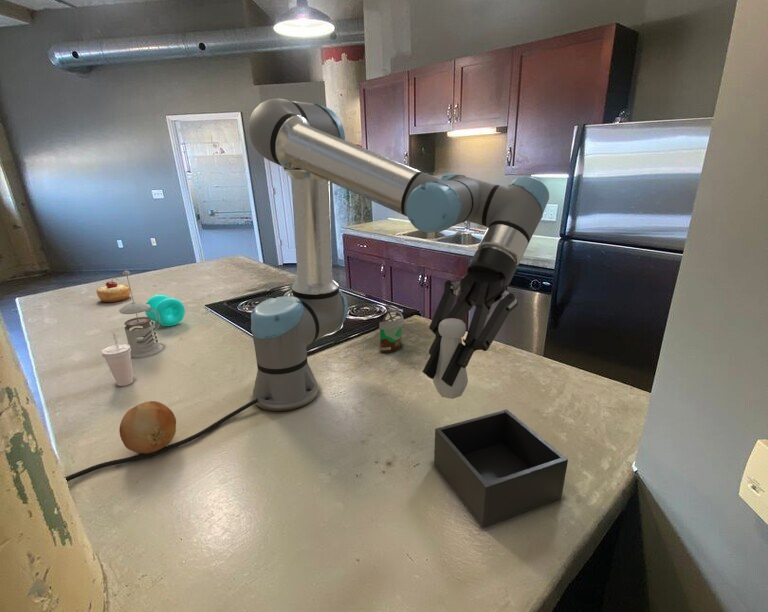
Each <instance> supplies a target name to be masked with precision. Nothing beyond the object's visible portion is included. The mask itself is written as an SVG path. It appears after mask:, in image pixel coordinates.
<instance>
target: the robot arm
mask: <svg viewBox="0 0 768 612" xmlns="http://www.w3.org/2000/svg"><path fill="white" fill-rule="evenodd" d="M248 136H249V138H250V142H251V144H252V147H253V148H254V150H256V152H257V153H258V154H259V155H260V156H261V157H263V158H264V159H266V160H268V161H270V162H272V163H274V164H275V165H279V166H281V167H282V169H283V171H284V172H285V174H286V175H288V177H289V178H290V183H291V198H292V199H291V200H292V212H293V228H294V245H295V259H296V274H297V275H296V276H297V280H296V281H295V282H294V283H293V284H292V285H291V290H292V291H291V293H292V294H291V295H292V296H290V295H282V296H277V297H275V298H274V297H271V298H268V299H266V300H263V301H261V302H260V303H258V304H256V306H254V307H253V309H252V311H251V313H250V321H251V323H250V324H251V325H250V330H251V333H252V340H253V346H254V353H255V358H256V367H257V372H256V377H255V381H254V384H253V385H254V386H253V389H252V390H253V391H252V397H253V400H251V401H249V402H248V403H245V404H244V405H242V406H241V407H239V408H237V409H235V410H234V411H231V412H230V413H229V414H227V415H225V416H223V417H221V418H220V419H218V420H217V421H215V422H213V423H212V424H211V425H209V426H207V427H206V428H203V429H202V430H201V431H199V432H197V433H194V434H192V435H190V436H188V437H186V438H183V439H182V440H179V441H176V442H174V443H171V444H168V445H166V446H165V447H164V448H162V449H160V450H158V451H156V452H153V453H147V454H141V453H138V454H136V455H132V456H128V457H123V458H119V459H118V458H117V459H113V460H109V461H104V462H101V463H98V464H95V465H91V466H89V467H87V468H84V469H82V470H79V471H77V472H74V473H71V474H69V475H67V476H65V477H64V478H66V480H67V482H66V483H69V482H70V481H72V480H75V479H77V478H80V477H82V476H84V475H87V474H90V473H92V472H94V471H95V472H96V471H97V470H101V469H104V468H108V467H111V466H117V465H122V464H127V463H130V462H134V461H138V460H142V459H145V458H149V457H152V456H154V455H158V454H161V453H164V452H168V451H170V450H173V449H176V448H178V447H181V446H183V445H186V444H188V443H190V442H192V441H194V440H196V439H198V438H200V437H202V436H203V435H206V434H207V433H209V432H210V431H212V430H214V429H215V428H217V427H219V426H221V424H223V423H224V422H226V421H228V420H230V419H231V418H233V417H235V416H237V415H238V414H241V412H244V411H245V410H247V409H249V408H251V407H252V406H254V405H256V406H257V407H258V408H260V409H262V410H265V411H271V412H287V411H288V412H289V411H293V410H296V409H299V408H302V407H305V406H306V405H309V403H311V402H312V401H314V399H316V398H317V396H318V393H319V389H318V382H317V379H316V377H315V375H314V373H313V371H312V368H311V367H310V364H309V360H308V351H307V347H309V345H311V344H313V343H315V342H316V341H318V340H320V339H322V338H323V337H326V336H327V335H330V334H332V333H334V332H335V331H336V330H338V329H339V328H340V327H341V326H342V325H343V324H344V323H345V321H346V319H347V317H348V314H349V313H348V312H349V304H348V300H347V297H346V296H344V292H342V291H341V289H340V285H339V283H338V282H337V281H335V280H334V278H333V252H332V251H333V250H332V225H331V224H332V221H331V218H332V217H331V188H330V187H331V186H330V185H331V184H330V183H332V184H334V185H336V186H338V187H340V188H343V189H345V190H347V191H349V192H351V193H354V194H356V195H358V196H361V197H363V198H365V199H367V200H369V201H371V202H373V203H376V204H377V205H380V206H382V207H384V208H387V209H389V210H392V211H394V212H396V213H398V214H400V215H403V216H405V217H407V219H408V221H409V222H410V223H411V225H412V226H413V227H414V228H415V229H416V230H418V231H419V232H423V233H426V234H427V233H428V234H431V233H440V232H444V231H447V230H448V229H450V228H452V227H454V226H457V225H460V224H462V223H465V222H469V223H473V224H477V225H480V226H483V227H486V228H487V229H486V231H485V233H484V235H483V236H482V237H481V240H480V242H479V244H478V246H477V250H476V251H475V252H474V254H473V256H472V258H471V260H470V262H469V263H468V266H467V271H466V273H465V275H463V276H462V277H461V278H460V280H458V281H453V282H452V281H451V280H450V279H449V280H446V281H445V282H444V286H443V287H444V289H443V294H442V296H441V299H440V300H439V303H438V305H437V307H436V310H435V312H434V314H433V317H432V319H431V322H430V324H429V326H428V328H429V330H430V332H432V333H433V335H435V337H434V340H433V341H432V343H431V346H430V348H429V349H428V354H429V355H430V356H429V358H428V359H427V362H426V363H425V365H424V368H423V369H422V373H423V374H424V375H426V377H428V379H431V380H433V378H434V376H435V374H436V370H437V364H438V358H439V352H440V343H441V339H442V336H441V335H440V334H439V324H440V322H441V321H442V320H444V319H449V318H455V319H460V320H462V321H463V319H464V317H465V316H466V314H467V313H468V312H470V311H471V310H472V309H473V307H475V309H474V311H473V315H472V318H471V321H470V324H469V326H468V329H467V332H466V333H467V334H466V336H465V339H464V338H463V339H462V344H461V343H459V344H458V346H457V348H456V350H455V352H454V354H453V356H452V358H451V360H450V362H449V364H448V366H447V368H446V370H445V372H444V374H443V376H442V378H441V380H443V381H444V382H445V383H446V384H447V385H448V386H451V387H452V385H453V383H454V381H455V379H456V377H457V375H458V373H459V371H460V369H461V367H462V368H466V369H467V367H468V365H469V363H470V360H471V358H472V357H473V354H474V352H476V351H482V352H486V351H488V350H489V349H490V347H491V345H492V344H493V342H494V341H495V338H496V336H497V335H498V333H499V331H500V329H501V328H502V326H503V325H504V323H505V321H506V319H507V318H508V316H509V315H510V313H511V312H512V311H514V309H515V308H517V307H518V305H519V301H518V300H517V298H516V295H515V294H514V293H513V292H508V290H509V289H508V287H509V285H510V283H511V282H512V279H514V278H513V277H514V276H515V274H516V272H517V268H518V266H519V265H520V263H521V260H522V258H523V256H524V254H525V252H526V250H527V248H528V246H529V243H530V242H531V240H532V237H533V236H534V234H535V232H536V229H537V227H538V225H539V224H540V222H541V220H542V218H543V216H544V213H545V210H546V207H547V205H548V203H549V200H550V192H549V188H548V187H547V186H546V185H545V184H544V182H542V180H540V179H538V178H535V177H533V176H529V175H525V176H517V177H516V178H514V179H513V180H512V181H511V182H510V183H509V184H508V186H506V185H500V184H495V183H492V182H491V183H490V182H487V181H483V180H480V179H476V178H472V177H468V176H466V175H463V174H455V173H450V172H448V173H444V174H443V175H442V176H441V177H440V178H438V177H436V176H434V175H432V174H429V173H426V172H423V171H421V170H419V169H417V168H414V167H411V166H410V165H406V164H404V163H402V162H399V161H397V160H394V159H393V158H390V157H387V156H385V155H382V154H380V153H377V152H374V151H372V150H370V149H367V148H364V147H362V146H360V145H358V144H355V143H353V142H350V141H348V140H346V134H345V129H344V126H343V123H342V121H341V120H340V118H339V116H338V115H337V114H336V113H335V112H334V111H333V110H332V109H330V108H328V107H326V106H323V105H321V104H318V103H312V102H304V101H297V100H290V99H284V98H271V99H267V100H264V101H262V102H261V103H259V104H258V105H257V106H256V107H255V108H254V110H253V111H252V113H251V115H250V118H249V122H248ZM459 292H460V294H459ZM457 296H458V297H457ZM455 300H456V303H455ZM498 301H499V302H498ZM497 302H498V303H497ZM495 303H497V305H496V306H495V308H494V310H493V311H492V313H491V309H492V306H493V305H494V304H495ZM490 313H491V315H490ZM489 315H490V317H489V318H488V316H489ZM487 318H488V320H487Z"/></svg>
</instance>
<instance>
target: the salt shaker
mask: <svg viewBox="0 0 768 612" xmlns="http://www.w3.org/2000/svg"><path fill="white" fill-rule="evenodd" d="M466 333H467V324H466V323H465V322H464V321H463V319H462V320H460V319H455V318H449V319H444V320H442V321H441V322H440V324H439V334H440V335H441V336H442V339H441V343H440V352H439V358H438V364H437V370H436V374H435V376H434V378H433V379H432V382H433V385H434V388H435V389H436V392H437V393H438V394H439V395H440V397H441V398H446V399H451V400H454V399H457V398H459V397H461V396H462V395H463V394H464V392H465V389H466V388H467V387H468V386H467V385H468V383H469V377H468V371H467V367H466V368H462V367H461V369H460V371H459V373H458V375H457V377H456V379H455V381H454V383H453V385H452V387H451V386H448V385H447V384H446V383H445V382H444V381H443V380H441V378H442V376H443V374H444V372H445V370H446V368H447V366H448V364H449V362H450V360H451V358H452V356H453V354H454V352H455V350H456V348H457V346H458V344H459V343H461V344H463V339H462V338H463V337H465V335H466Z"/></svg>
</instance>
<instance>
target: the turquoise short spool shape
mask: <svg viewBox="0 0 768 612" xmlns="http://www.w3.org/2000/svg"><path fill="white" fill-rule="evenodd" d="M145 303H146V304H149V305H150V306H151V307H150V308H152V310H153V309H155V310H156V311H157V312H158V313H159V315H158V313H157V312H156V311H155V310H153V311H154V313H155V314H154V313H153V311H152V310H150V313H147V312H149V309H148V310H146V311H147V312H146V311H144V314H145V316H146V317H150V318H151V319H152V320H151V322H153V323H155V315H156V323H159V316H160V325H162V326H165V327H174V326H176V325H178V324H179V323H180V322H182V320H183V319H184V317H185V313H186V309H185V306H184V304H183V302H182V301H181V300H179V299H178V298H175V297H170V296H168V295H166V294H155V295H153V296H151V297H150V298H149V299H148V300H147V302H145Z"/></svg>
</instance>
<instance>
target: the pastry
mask: <svg viewBox="0 0 768 612" xmlns="http://www.w3.org/2000/svg"><path fill="white" fill-rule="evenodd" d="M113 279H114V280H117V281H119V279H118V278H117V277H112V278H111V280H113ZM130 288H131V286H130V287H129V284H128V285H127V284H123V283H121V284H120V283H117V282H115V281H106V283H105V285H104V286H101V287H98V288H97V289H96V292H95V293H96V296H97V297H98V299H99V300H100V301H101V302H105V303H113V302H115V303H116V302H120V301H124V300H127V299H128V298H129V297H130V296H131V291H130Z"/></svg>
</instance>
